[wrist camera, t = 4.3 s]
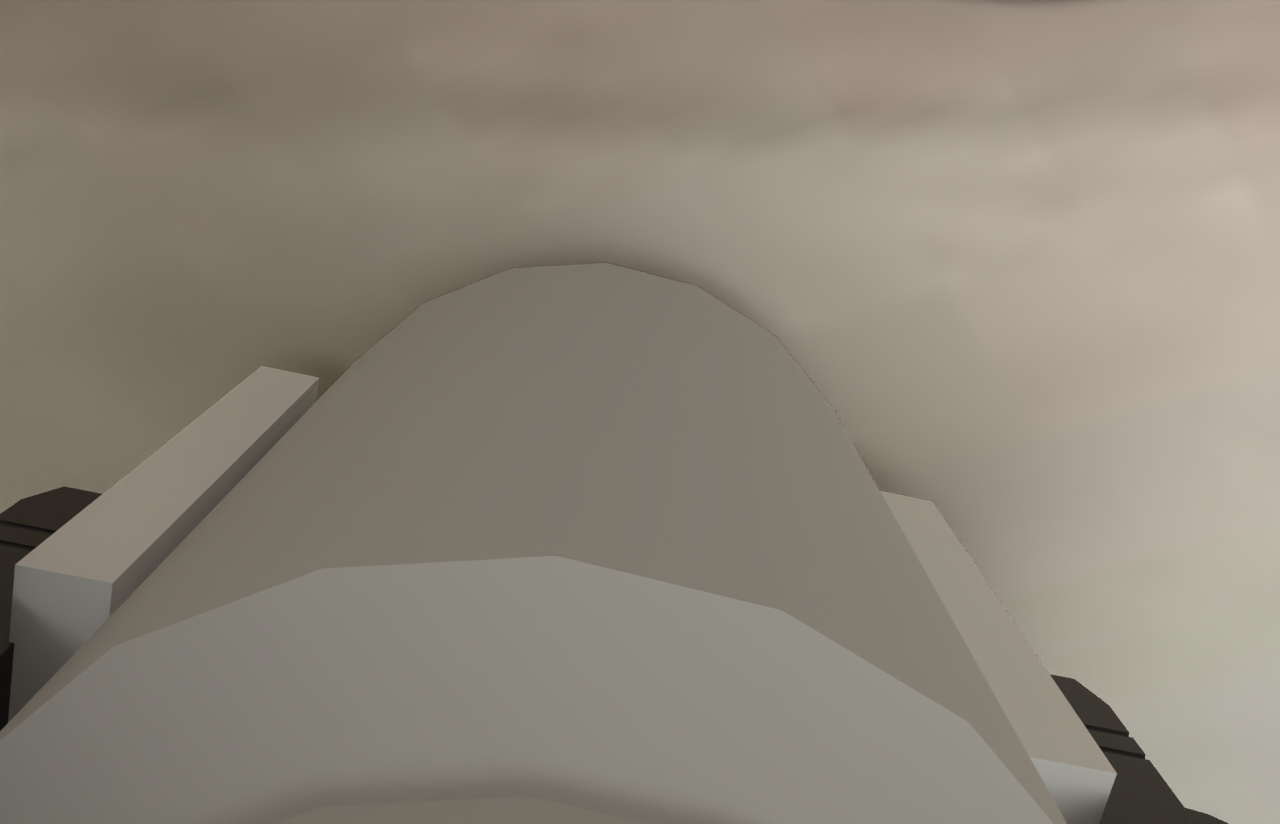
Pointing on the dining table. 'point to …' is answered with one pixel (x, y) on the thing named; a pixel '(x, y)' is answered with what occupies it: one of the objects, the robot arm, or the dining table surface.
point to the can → (537, 601)
